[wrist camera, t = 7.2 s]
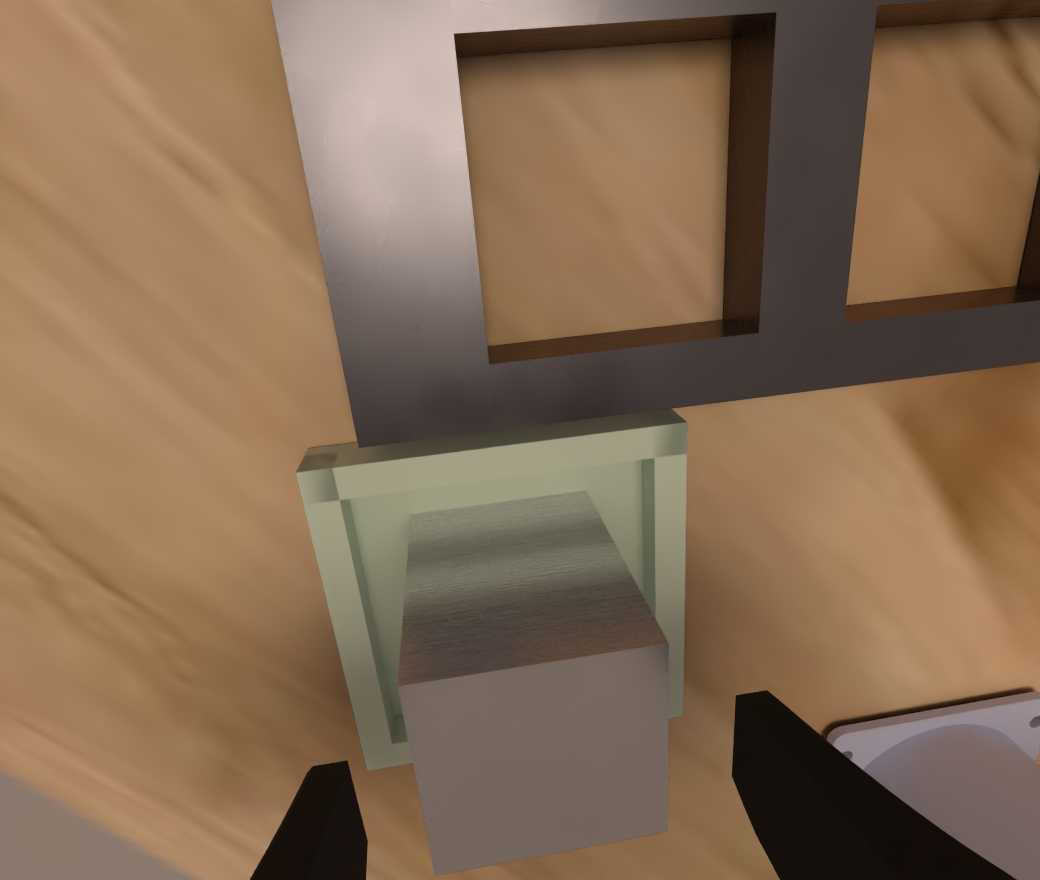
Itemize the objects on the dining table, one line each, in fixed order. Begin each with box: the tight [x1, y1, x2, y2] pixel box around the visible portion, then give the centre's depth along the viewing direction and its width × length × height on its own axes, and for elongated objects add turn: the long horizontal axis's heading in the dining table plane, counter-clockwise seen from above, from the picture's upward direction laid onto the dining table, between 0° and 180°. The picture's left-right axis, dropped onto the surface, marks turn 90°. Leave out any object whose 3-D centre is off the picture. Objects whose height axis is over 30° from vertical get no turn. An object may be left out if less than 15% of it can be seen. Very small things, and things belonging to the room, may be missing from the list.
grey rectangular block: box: [397, 491, 669, 876], centre depth 14 cm, size 4×4×6 cm
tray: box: [296, 409, 687, 771], centre depth 16 cm, size 9×9×2 cm
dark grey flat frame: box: [271, 0, 1040, 448], centre depth 13 cm, size 20×9×2 cm, turn 95°
